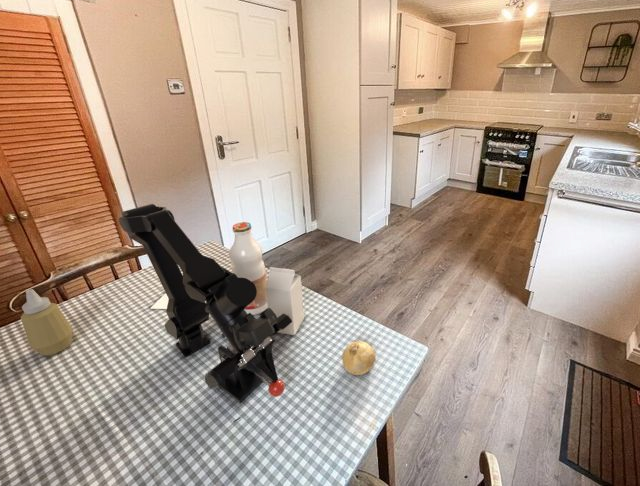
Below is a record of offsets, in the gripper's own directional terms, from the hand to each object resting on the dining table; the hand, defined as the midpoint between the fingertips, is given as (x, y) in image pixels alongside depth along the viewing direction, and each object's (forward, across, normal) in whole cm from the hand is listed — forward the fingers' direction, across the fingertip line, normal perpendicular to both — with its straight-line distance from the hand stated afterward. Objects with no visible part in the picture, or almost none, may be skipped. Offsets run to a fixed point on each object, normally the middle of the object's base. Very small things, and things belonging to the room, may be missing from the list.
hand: (275, 381), depth 62 cm
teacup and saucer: (-33, +16, +44) cm, 57 cm away
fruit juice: (-16, +20, +27) cm, 37 cm away
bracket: (-4, 0, +14) cm, 15 cm away
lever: (-4, 0, +6) cm, 7 cm away
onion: (+12, +17, -1) cm, 21 cm away
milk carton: (-6, +19, +17) cm, 26 cm away
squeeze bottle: (-39, -19, +49) cm, 65 cm away
